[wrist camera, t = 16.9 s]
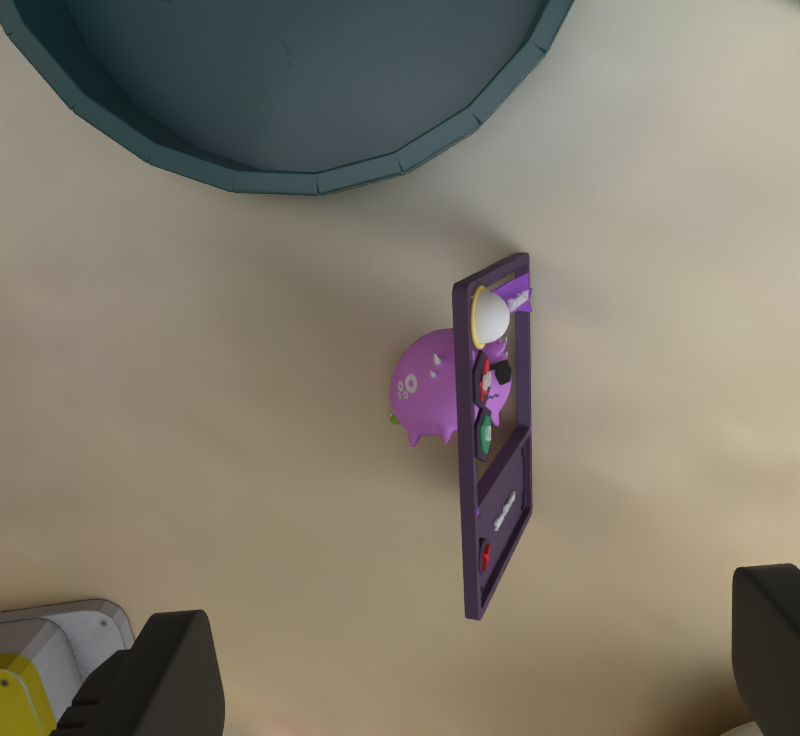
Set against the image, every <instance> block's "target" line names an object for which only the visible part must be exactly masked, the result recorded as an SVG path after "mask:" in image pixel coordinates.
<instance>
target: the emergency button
mask: <svg viewBox="0 0 800 736" xmlns="http://www.w3.org/2000/svg"><path fill="white" fill-rule="evenodd" d="M134 642H135V641H134V638H133V634H132V631H131V628H130V625H129V622H128V619H127V617H126V615H125V614H124V612H123V611H122V610H121V608H120V607H118V606H116V605H114V604H113V603H111V602H109V601H104V600H86V601H79V602H72V603H65V604H58V605H51V606H44V607H37V608H30V609H23V610H16V611H9V612H2V613H0V736H49V734H50V733H51V731H52V730H56V727H57V722H58V721H59V719H60V718H61V716H62V715H63V713H64V712H65V710H66V709H67V707H69V706H71V705H72V700H73V698H74V697H75V695H76V694H77V692H78V691H79V689H80V688H81V686H82V685H83V683H84V681H85V680H86V678H87V677H88V675H89V674H90V673H91V672H92V671H94V670H95V669H96V668H97V667H98V666H100V665H101V664H102V663H103V662H104V661H106V660H107V659H108V658H109V657H110V656H111V655H113V654H114V653H115V652H116V651H117V650H125V649H131V647H132V645H133V644H134Z"/></svg>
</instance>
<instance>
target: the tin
mask: <svg viewBox="0 0 800 736" xmlns="http://www.w3.org/2000/svg"><path fill="white" fill-rule="evenodd" d="M573 2H574V0H0V23H1V25H2V27H3V29H4V31H5V33H6V35H7V36H9V39H10V40H11V41H12V42H13V44H14V45H15V46H16V47H17V48H18V49H19V51H20V52H21V53H22V54H23V55H24V56H25V57H26V59H27V60H28V61H29V62H30V63H31V64H32V66H33V67H34V68H35V69H36V70H37V71H38V73H39V74H40V75H41V76H42V77H43V78H44V80H45V81H46V82H47V83H48V84H49V85H50V87H51V88H52V89H53V90H54V91H55V92H56V94H57V95H58V96H59V97H60V98H61V99H62V100H63V102H64V103H65V104H66V105H67V106H68V107H69V109H71V110H73V112H74V113H75V114H76V115H78V116H79V117H81V118H82V119H84V120H85V121H86V122H88V123H89V124H91V125H92V126H94V127H95V128H97V129H98V130H99V131H101V132H102V133H104V134H105V135H107V136H108V137H110V138H111V139H113V140H114V141H115V142H117V143H118V144H120V145H121V146H123V147H124V148H126V149H127V150H129V151H130V152H131V153H133V154H134V155H136V156H137V157H139V158H140V159H142V160H143V161H145V162H146V163H149V164H150V165H152V166H155V167H158V168H161V169H164V170H167V171H170V172H173V173H176V174H179V175H182V176H185V177H187V178H190V179H193V180H196V181H199V182H202V183H205V184H208V185H211V186H214V187H217V188H220V189H223V190H226V191H229V192H234V193H254V194H280V195H306V196H318V195H326V194H331V193H337V192H341V191H344V190H348V189H352V188H356V187H360V186H363V185H367V184H371V183H375V182H378V181H382V180H386V179H390V178H394V177H397V176H401V175H405V174H406V173H410V172H411V171H413V170H415V169H416V168H418V167H419V166H421V165H423V164H424V163H426V162H428V161H429V160H431V159H432V158H434V157H436V156H437V155H439V154H441V153H442V152H444V151H446V150H447V149H449V148H450V147H452V146H454V145H455V144H457V143H459V142H460V141H462V140H463V139H465V138H467V137H468V136H470V135H472V134H473V133H474V132H475V131H476V130H477V129H478V128H479V127H480V126H481V125H482V124H483V123H484V122H485V121H486V120H487V119H488V118H489V117H490V116H491V115H492V113H493V112H494V111H495V110H496V109H497V108H498V107H499V106H500V105H501V104H502V103H503V101H504V100H505V99H506V98H507V97H508V96H509V95H510V94H511V93H512V92H513V90H514V89H515V88H516V87H517V86H518V85H519V84H520V83H521V82H522V81H523V80H524V78H525V77H526V76H527V75H528V74H529V73H530V72H531V71H532V70H533V69H534V67H535V66H536V65H537V64H538V63H539V62H540V61H541V60H542V59H543V58H544V57H545V54H546V53H547V52H548V51H549V49H550V47H551V45H552V43H553V41H554V39H555V37H556V35H557V33H558V31H559V29H560V27H561V26H562V24H563V22H564V20H565V18H566V16H567V14H568V12H569V10H570V8H571V6H572V4H573Z"/></svg>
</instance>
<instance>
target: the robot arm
mask: <svg viewBox="0 0 800 736" xmlns="http://www.w3.org/2000/svg"><path fill="white" fill-rule="evenodd" d="M732 666H733V672H734V677H735V681H736V685H737V688H738V691H739V693H740V696H741V698H742V700H743V702H744V704H745V706H746V707H747V709H748V711H749V712H750V714H751V716H752V717H753V719H754V721H755V722H756V724H757V725H758V727H759V729H760V730H761V732H762V734H763V735H764V736H800V570H799V569H798V568H797V567H796V566H795V565H793V564H790V563H786V564H774V565H761V566H749V567H739V568H737V569H736V570H735V572H734V575H733V583H732ZM224 720H225V698H224V691H223V686H222V681H221V676H220V672H219V667H218V662H217V657H216V652H215V647H214V642H213V637H212V632H211V627H210V623H209V619H208V616H207V614H206V613H205V612H204V611H203V610H189V611H177V612H164V613H155V614H153V615H152V616H150V618H149V619H148V621H147V622H146V624H145V626H144V627H143V629H142V631H141V632H140V634H139V636H138V637H137V639H136V640H135V642H134V644H133V645H132V647H131V649H125V650H117V651H116V652H115V653H114V654H113V655H111V656H110V657H109V658H108V659H107V660H106V661H104V662H103V663H102V664H101V665H100V666H98V667H97V668H96V669H95V670H94V671H92V672H91V673H90V674H89V675H88V677H87V678H86V680H85V681H84V683H83V685H82V686H81V688H80V689H79V691H78V692H77V694H76V695H75V697H74V698H73V700H72V705H71V706H69V707H67V709H66V710H65V712H64V713H63V715H62V716H61V718H60V719H59V721H58V722H57V727H56V730H52V731H51V733H50V734H49V736H222V733H223V728H224Z"/></svg>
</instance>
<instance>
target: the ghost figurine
mask: <svg viewBox="0 0 800 736" xmlns="http://www.w3.org/2000/svg"><path fill="white" fill-rule="evenodd" d="M720 736H764V735H763V734H762V732H761V730H760V729H759V727H758V725H757V724H756V722H755V721H753V722H749V723H746V724H743V725H740V726H738V727H735V728H733V729H731V730H729V731H727V732H725V733H724V734H722V735H720Z"/></svg>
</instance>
